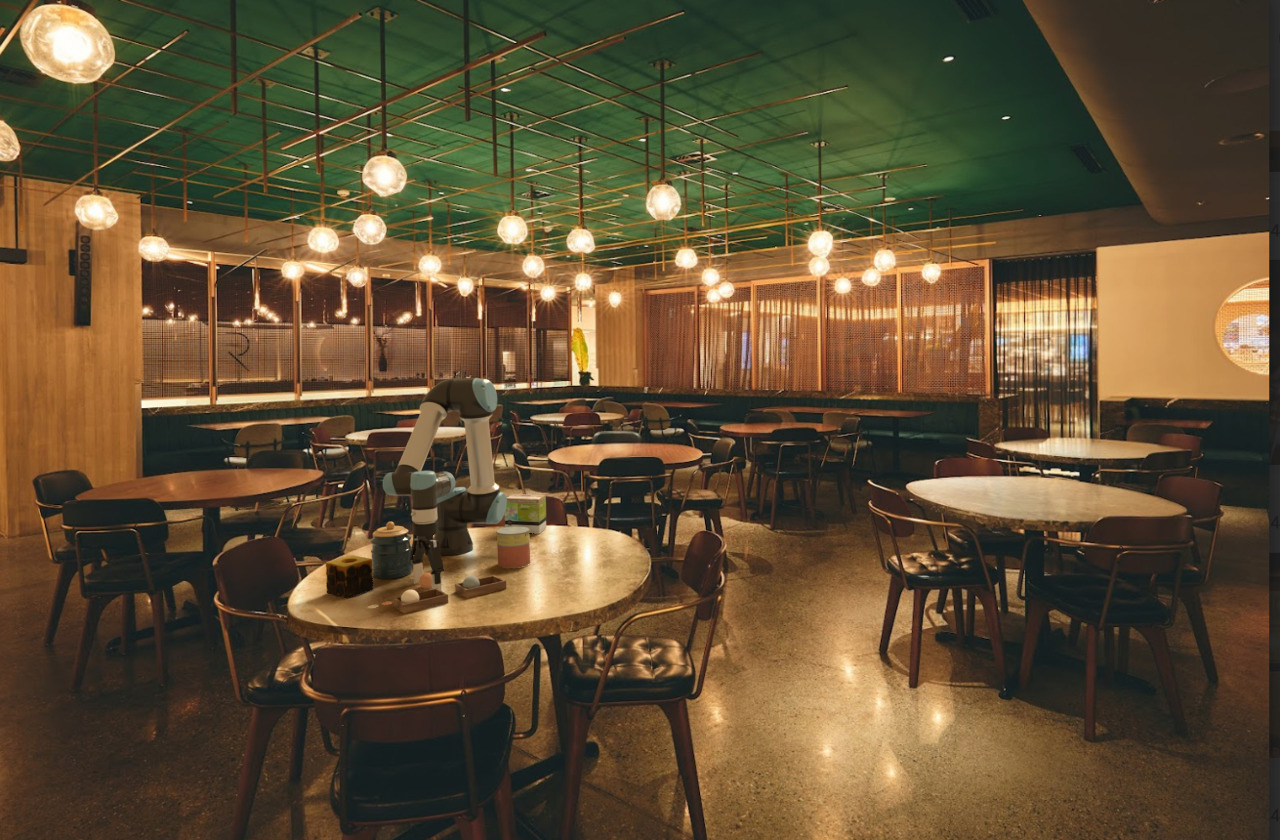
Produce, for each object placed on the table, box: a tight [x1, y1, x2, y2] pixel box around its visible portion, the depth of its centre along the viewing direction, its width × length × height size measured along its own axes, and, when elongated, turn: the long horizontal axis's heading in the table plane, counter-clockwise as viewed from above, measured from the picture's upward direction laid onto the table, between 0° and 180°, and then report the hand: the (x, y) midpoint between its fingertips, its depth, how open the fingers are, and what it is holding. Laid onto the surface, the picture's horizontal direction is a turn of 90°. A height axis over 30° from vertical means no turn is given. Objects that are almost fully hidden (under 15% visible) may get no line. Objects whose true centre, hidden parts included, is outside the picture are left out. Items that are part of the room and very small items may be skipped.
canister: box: [369, 521, 414, 580], centre depth 239 cm, size 13×13×18 cm
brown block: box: [325, 554, 375, 600], centre depth 220 cm, size 10×10×10 cm
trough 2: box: [454, 574, 507, 599], centre depth 218 cm, size 8×13×3 cm, turn 130°
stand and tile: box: [367, 601, 393, 609], centre depth 214 cm, size 14×24×1 cm, turn 130°
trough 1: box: [392, 588, 449, 614], centre depth 206 cm, size 8×13×3 cm, turn 130°
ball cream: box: [400, 589, 419, 604], centre depth 204 cm, size 5×5×5 cm
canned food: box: [496, 526, 531, 569], centre depth 248 cm, size 11×11×12 cm
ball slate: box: [462, 575, 480, 589], centre depth 216 cm, size 5×5×5 cm
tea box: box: [504, 493, 547, 535], centre depth 296 cm, size 15×10×15 cm
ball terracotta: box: [418, 572, 432, 590], centre depth 222 cm, size 5×5×5 cm
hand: (427, 588), depth 222 cm, fingers open, 13 cm apart
